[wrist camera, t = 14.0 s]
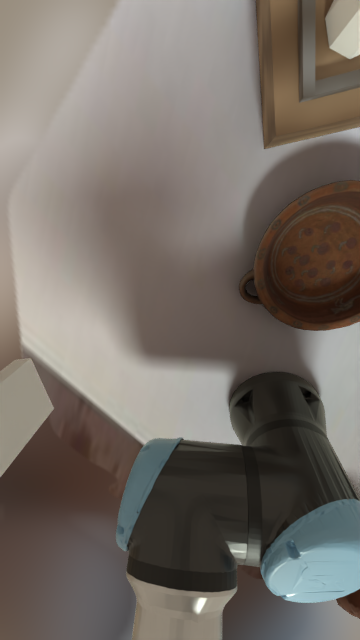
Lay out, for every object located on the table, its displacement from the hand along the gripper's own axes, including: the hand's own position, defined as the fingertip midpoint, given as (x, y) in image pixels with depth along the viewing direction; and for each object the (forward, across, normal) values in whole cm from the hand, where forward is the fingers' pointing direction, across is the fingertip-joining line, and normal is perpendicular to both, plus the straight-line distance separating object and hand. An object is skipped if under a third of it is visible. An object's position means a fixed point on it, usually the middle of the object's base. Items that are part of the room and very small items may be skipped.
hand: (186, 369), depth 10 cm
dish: (+29, -15, +3) cm, 33 cm away
